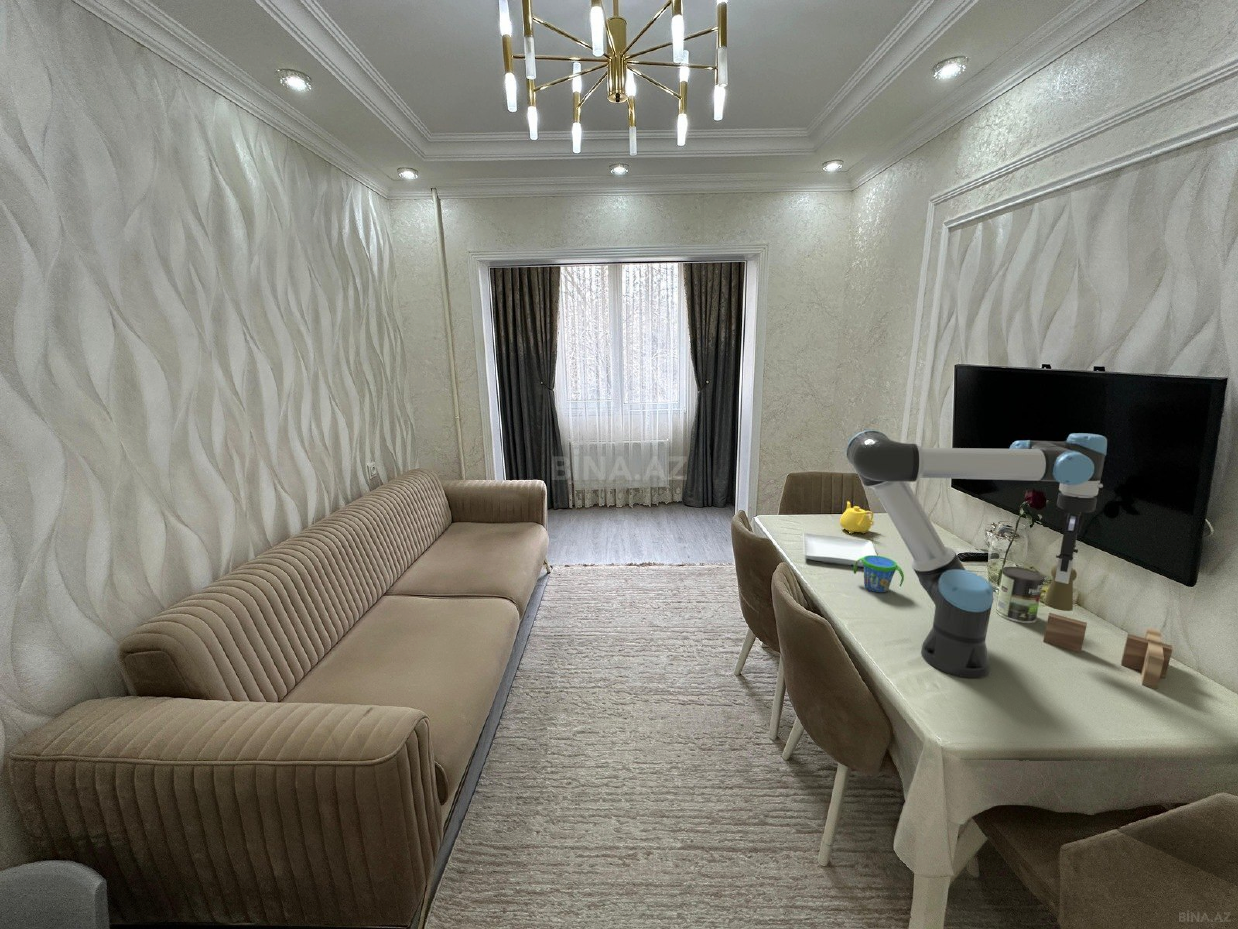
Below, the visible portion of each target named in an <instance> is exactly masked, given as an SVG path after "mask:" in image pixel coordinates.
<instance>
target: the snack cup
mask: <svg viewBox="0 0 1238 929" xmlns="http://www.w3.org/2000/svg"><path fill="white" fill-rule="evenodd" d="M858 561H862V562H863V585H864V586H865V588H866V589H867V590H868V591H872V592H877V593H879V594H880V593H881V594H882V593H886V592H888V591H889V589H890V585H891V582H892V579H893V577H894V575H895V573H896V571H898V573H899V575H900V577H901V579H900V584H899V587H902V585H903V583H904V580H905V574H904V572H903V570H902V568H901V567H899V565H898V564H897V562H896V561H895V560H893V559H891V558H889V557H886V556H880V555H877V556H875V555H869V556H865V557H863V558H860V559H858V560H857V561H856V562H855V564H854V566H853V567H852V568H853V570H852V571H853V574H854V575H856V574H857V571H858V570H857V569H858V566H857V563H858Z"/></svg>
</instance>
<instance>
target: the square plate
mask: <svg viewBox="0 0 1238 929" xmlns="http://www.w3.org/2000/svg"><path fill="white" fill-rule="evenodd" d="M802 539H803V548H802V554H803V556H804V557H806V559H808V560H812V561H817V562H820V561H822V562H821V563H827V562H829V563H828V564H835V563H836V565H844V566H851V565H853V567H854V564H855V562H856V561H857V560H858V559H860V558H863V557H865V556H869V555H875V556H878V554H877V551H876V550H875V546H874V544H873V542H872V540H869V539H860V538H855V537H854V538H853V537H848V536H847V537H846V536H839V535H829V534H820V533H819V534H818V533H808V532H807V533H806V532H804V533H802ZM857 567H860V568H862V567H863V562H862V561H858V563H857ZM863 568H864V567H863Z"/></svg>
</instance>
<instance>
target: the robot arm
mask: <svg viewBox="0 0 1238 929" xmlns="http://www.w3.org/2000/svg"><path fill="white" fill-rule="evenodd" d="M1107 447H1108V439H1107V438H1106V436H1103V435H1100V434H1095V433H1083V432H1081V433H1080V432H1079V433H1075V432H1073V433H1070V434H1069V435H1068V437H1067V438H1066V440H1063V441H1052V440H1050V441H1049V440H1030V439H1028V440H1015V441H1014V442H1012V444H1010V446H1009V448H969V447H968V448H966V447H965V448H964V447H963V448H961V447H959V448H958V447H921V446H920V445H919V444H918V443H909V442H907V443H906V442H905V443H904V442H899V441H895V440H893V439H890V438H889V437H888V436H887V435H886V434H884V433H883V432H880V431H879V430H878V431H877V430H870V429H869V430H864V431H860V432H859V433H856V434H855V435H853V436H852V437H851V439H850V440H849V441H848V443H847V447H846V457H847V460H848V461H849V463H850V464H851V465H852V467H853V468H854V470H855V472H856V474H857V475H858V477H859V478H860V480H861V482H862V483H863V485H864V487H867V488H870V489H872V490H873V491H874V492H875V493H874V494H876V497H877V498H878V500H879V501H880V503H881V505H882V507H883V508H884V510H885V511H886V514H887V515H888V518H889V519H890V520H891V522H892V524H893V525H894V527H895V529H896V531H897V532H898V534H899V536H900V538H901V539H902V541H903V543H904V544H905V546H906V547H907V548H906V549H908V551H909V553H910V555H911V557H912V558H913V560H912V562H911V568H912V569H913V571H914V573H915V575H916V576H917V578H918V581H919V584H920V585H921V587H922V588H923V589H924V591H925V592H926V593H927V595H928V596H929V598H930V599H931V601H932V602H933V604H934V605H935V608H934V615H933V622H932V627H931V628H930V630H929V632H928V634H927V636H926V637H925V639H924V640H923V642H922V644H921V649H920V651H921V652H920V653H921V656H922V659H924V661H925V662H926V663H928V664H929V665H930V666H932V667H934V668H936V669H937V670H939V671H941V672H944V673H946V674H949V675H952V676H957V677H961V678H967V679H979V678H984V677H986V676H987V675H988V673H989V672H990V667H991V663H990V662H991V661H990V657H989V652H988V646H987V643H986V638H987V633H988V627H989V623H990V618H991V611H992V606H993V604H994V588H993V585H992V584H991V583H990V582H989V581H988V579H986V578H985V577H983V576H981V575H977V573H975V572H973V571H969V570H966V568H965V567H964V565H963V563H962V562H961V560H960V558H959V556H958V554H957V553H956V551H955V550H954V549H953V548H951V547H947V546H945V544H944V542H943V541H942V538H941V537H940V535H939V534H938V531H937V530H936V529H935V527H934V525H933V524H932V522H931V520H930V519H929V517H928V515H927V513H926V512H925V510H924V508H923V506H922V504H921V503H920V501H919V499H918V497H917V495H916V494H915V492H914V491H913V489H912V487H911V485H910V484H909V482H913V483H914V482H915V483H916V482H917V481H919V479H950V480H951V479H952V480H953V479H955V480H956V479H961V480H964V479H965V480H995V481H997V480H999V481H1000V480H1002V481H1034V482H1035V481H1040V482H1057V483H1058V484H1059V487H1058V491H1060V492H1058V496H1057V501H1056V506H1057V508H1060V509H1062V510H1067V511H1068V512H1067V513H1065V512H1064V513H1063V518H1062V522H1063V524H1062V530H1061V531H1062V533H1063V536H1062V542H1061V547H1060V553H1059V554H1058V555H1055V558H1057V559H1058V561H1057V565H1058V566H1057V565H1056V566H1057V572H1056V577H1055V581H1057V582H1062V583H1066V584H1068V583H1069V578H1070V572H1071V568H1073V565H1074V564H1073V562H1074V557H1075V554H1078V553H1079V549H1076V548H1077V544H1076V543H1077V538H1078V535H1080V532H1081V529H1082V525H1083V524H1084V519H1085V515H1082V513H1092V512H1095V510H1096V508H1097V507H1096V505H1097V502H1098V498H1097V496H1098V494H1099V490H1100V489H1101V488H1103V487H1104V485H1103V483H1101V478H1102V474H1103V469H1104V463H1105V459H1106V458H1105V457H1106V456H1107Z"/></svg>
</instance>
